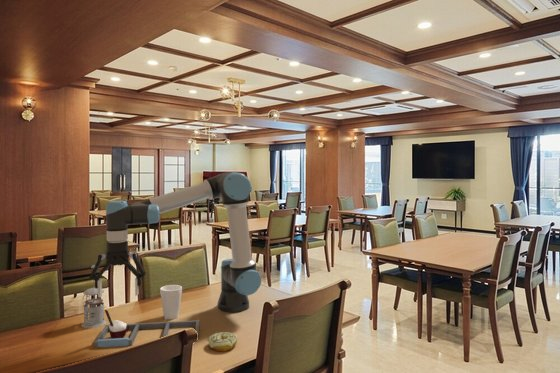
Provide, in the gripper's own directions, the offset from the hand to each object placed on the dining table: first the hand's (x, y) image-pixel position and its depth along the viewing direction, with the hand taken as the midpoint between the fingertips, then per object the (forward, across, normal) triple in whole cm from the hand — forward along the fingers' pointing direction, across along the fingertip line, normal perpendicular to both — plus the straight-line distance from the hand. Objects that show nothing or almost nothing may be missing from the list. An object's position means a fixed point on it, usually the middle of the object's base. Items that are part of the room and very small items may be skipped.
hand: (118, 295), depth 155 cm
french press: (+17, +14, -17) cm, 28 cm away
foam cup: (+17, -18, -20) cm, 31 cm away
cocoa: (+17, +1, 0) cm, 17 cm away
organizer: (+17, -12, 0) cm, 20 cm away
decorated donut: (+17, -40, +13) cm, 45 cm away
